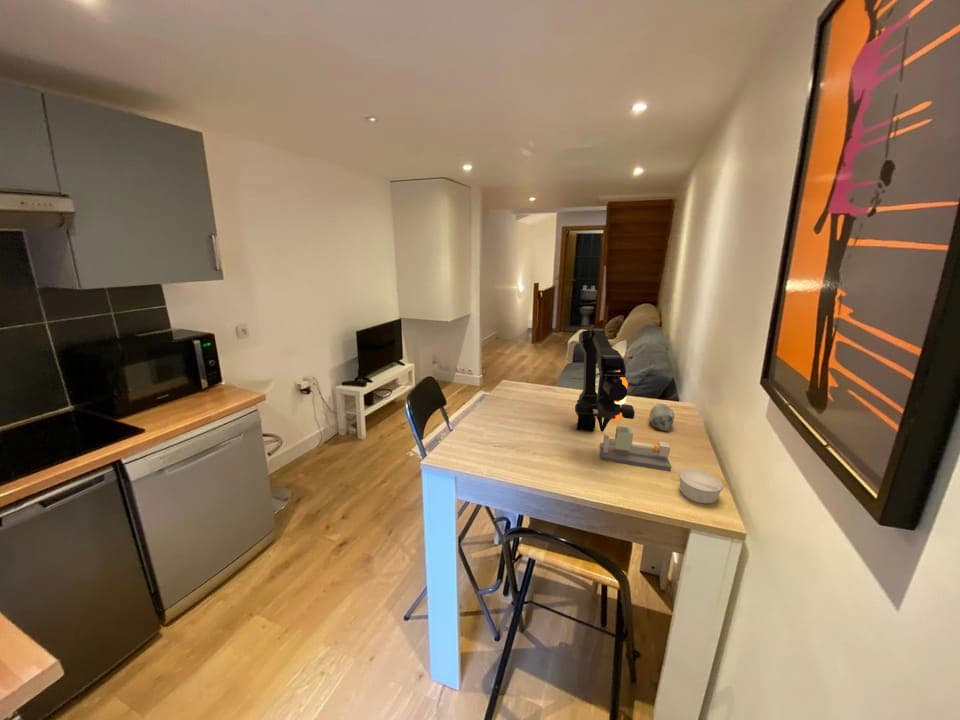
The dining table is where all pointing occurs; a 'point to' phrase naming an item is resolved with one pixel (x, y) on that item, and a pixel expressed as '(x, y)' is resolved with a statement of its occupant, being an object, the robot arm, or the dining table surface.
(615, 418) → the orange juice
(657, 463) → the cord board
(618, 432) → the matte sage green cube
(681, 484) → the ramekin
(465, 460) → the dining table surface
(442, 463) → the dining table surface
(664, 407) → the grey rounded oval lump
